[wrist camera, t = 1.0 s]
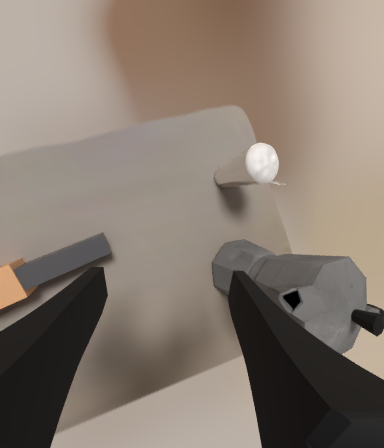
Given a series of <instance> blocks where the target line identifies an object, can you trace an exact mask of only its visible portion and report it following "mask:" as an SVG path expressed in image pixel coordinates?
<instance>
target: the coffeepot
mask: <svg viewBox="0 0 384 448" xmlns="http://www.w3.org/2000/svg"><path fill="white" fill-rule="evenodd" d="M233 270H236V271H244V272H245V273H246V274H247V275H248V276H249V277H250V278H251V279H252V280H253V281H254V282H255V283H256V284H257V285H258V286H259V288H260V289H261V290H262V291H263V292H264V293H265V294H266V295H267V296H268V297H269V298H270V299H271V300H272V301H273V302H274V303H275V304H277V305H278V306H279V307H280V308H281V309H282V310H283V311H284V312H285V313H286V314H288V315H289V316H290V317H291V318H292V319H293V320H295V321H296V322H297V323H298V324H300V325H301V326H302V327H303V328H305V329H306V330H307V331H308V332H310V333H311V334H312V335H314V336H315V337H317V338H318V339H319V340H321V341H322V342H324V343H325V344H326V345H328V346H329V347H331V348H332V349H334V350H335V351H337V352H338V353H340V354H341V355H342V354H343V353H345V352H346V351H348V350H350V349H351V348H352V347H353V345H354V343H355V340H356V338H357V336H358V333H359V331H360V329H361V327H362V328H364V329H366V330H367V331H369V332H371V333H372V334H374V335H375V336H378V335H380V334H381V333H382V332H383V329H384V311H383V310H382V309H380V308H378V307H376V306H374V305H370V304H367V297H366V277H365V276H364V275H363V273H362V272H361V271H360V270H359V268H358V267H357V266H356V265H355V263H354V262H353V261H352V260H351V258H350V257H343V256H320V255H318V256H317V255H296V254H284V255H279V256H276V255H275V254H274V253H273V252H271V251H269V250H267V249H264V248H262V247H260V246H258V245H255V244H253V243H251V242H249V241H247V240H238V241H232V242H228V243H225V244H224V245H223V247H222V248H221V249H220V250H219V251H218V253H217V255H216V257H215V259H214V261H213V262H212V274H213V279H214V286H216V287H217V288H218V289H220V290H221V291H222V292H223V293H225V294H226V295H227V296H228V294H229V289H230V284H231V279H232V274H233Z"/></svg>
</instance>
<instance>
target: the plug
mask: <svg viewBox="0 0 384 448" xmlns="http://www.w3.org/2000/svg"><path fill="white" fill-rule="evenodd" d="M110 253H111V249H110V246H109V244H108V242H107V240H106V238H105V236H104V234H103V233H100V234H98V235H95V236H93V237H90V238H88V239H85V240H83V241H80V242H77V243H75V244H72V245H70V246H67V247H65V248H62V249H60V250H57V251H55V252H52V253H50V254H47V255H44V256H42V257H39V258H37V259H34V260H32V261H29V262H27V263H25V262H24V260H23V258H21V259H18V260H16V261H13V262H11V263H8V264H5V265H3V266H0V309H2V308H4V307H6V306H8V305H11V304H13V303H15V302H17V301H20V300H22V299H24V298H26V297H28V296H29V295H30V294H31V293H32V292H33V291H34V290H35V289H36V288H37V287H38V285H39V284H41V283H44V282H46V281H48V280H51V279H53V278H55V277H57V276H60V275H62V274H64V273H67V272H69V271H71V270H73V269H76V268H78V267H80V266H83V265H85V264H87V263H89V262H92V261H94V260H96V259H99V258H101V257H103V256H105V255H108V254H110Z"/></svg>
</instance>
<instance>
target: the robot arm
mask: <svg viewBox="0 0 384 448" xmlns="http://www.w3.org/2000/svg"><path fill="white" fill-rule="evenodd" d="M107 296H108V294H107V287H106V281H105V275H104V268H103V267H91V268H90V269H88V270H87V271H86V272H84V273H83V274H82V275H81V276H79V277H78V278H77V279H76V280H74V281H73V282H72V283H71V284H69V285H68V286H67V287H65V288H64V289H63V290H62V291H60V292H59V293H58V294H56V295H55V296H53V297H52V298H51V299H49V300H48V301H46V302H45V303H44V304H42V305H41V306H40V307H38V308H37V309H35V310H34V311H32V312H31V313H29V314H28V315H26V316H25V317H23V318H22V319H20V320H18V321H17V322H15V323H14V324H12V325H10V326H9V327H7V328H5V329H4V330H2V331H0V448H50V446H51V443H52V440H53V437H54V434H55V431H56V428H57V425H58V421H59V418H60V415H61V412H62V410H63V407H64V404H65V401H66V398H67V395H68V392H69V389H70V386H71V384H72V381H73V378H74V375H75V373H76V370H77V367H78V365H79V363H80V360H81V358H82V356H83V353H84V351H85V349H86V347H87V345H88V343H89V340H90V338H91V336H92V334H93V332H94V330H95V328H96V325H97V323H98V321H99V319H100V317H101V314H102V312H103V309H104V306H105V302H106V299H107ZM228 301H229V307H230V312H231V316H232V320H233V323H234V326H235V330H236V333H237V336H238V339H239V343H240V346H241V349H242V352H243V356H244V359H245V363H246V367H247V372H248V376H249V381H250V385H251V390H252V396H253V401H254V406H255V411H256V416H257V422H258V428H259V433H260V439H261V445H262V448H384V380H383V379H381V378H379V377H377V376H376V375H374V374H372V373H370V372H369V371H367V370H365V369H363V368H362V367H360V366H359V365H357V364H355V363H354V362H352V361H351V360H349V359H347V358H346V357H344V356H343V355H341V354H340V353H338V352H337V351H335V350H334V349H332V348H331V347H329V346H328V345H326V344H325V343H324V342H322V341H321V340H319V339H318V338H317V337H315V336H314V335H312V334H311V333H310V332H308V331H307V330H306V329H305V328H303V327H302V326H301V325H300V324H298V323H297V322H296V321H295V320H293V319H292V318H291V317H290V316H289V315H288V314H286V313H285V312H284V311H283V310H282V309H281V308H280V307H279V306H278V305H277V304H275V303H274V302H273V301H272V300H271V299H270V298H269V297H268V296H267V295H266V294H265V293H264V292H263V291H262V290H261V289H260V288H259V286H258V285H257V284H256V283H255V282H254V281H253V280H252V279H251V278H250V277H249V276H248V275H247V274H246V273H245V272H244V271H236V270H233V274H232V279H231V284H230V289H229V294H228Z"/></svg>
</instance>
